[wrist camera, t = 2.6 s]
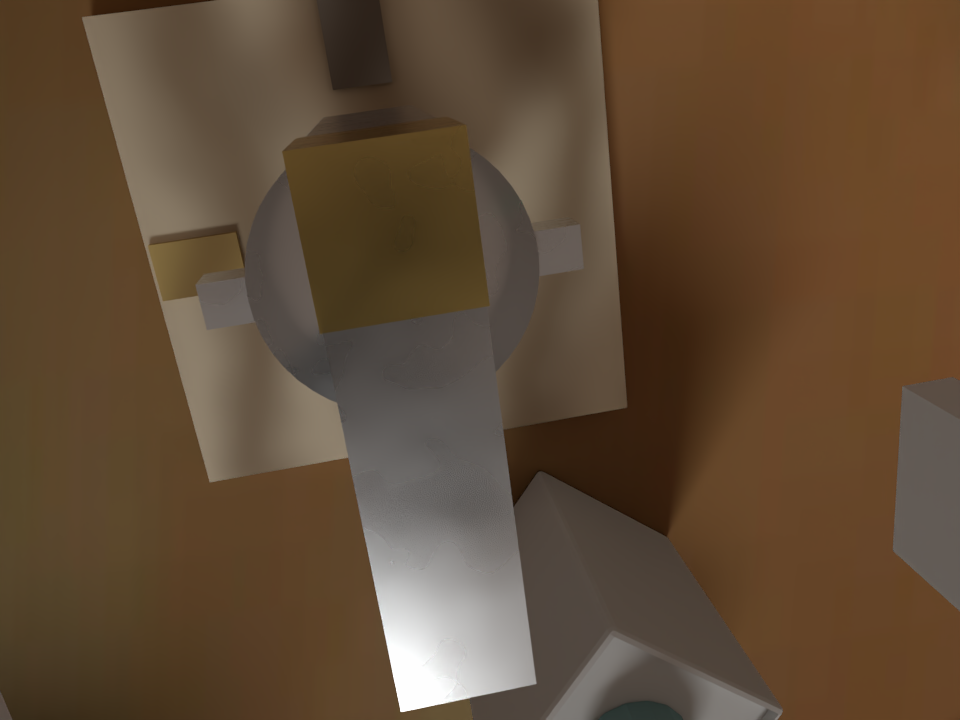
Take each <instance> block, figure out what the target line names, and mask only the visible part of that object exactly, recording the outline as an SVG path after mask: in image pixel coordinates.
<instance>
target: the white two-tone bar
mask: <svg viewBox="0 0 960 720" xmlns="http://www.w3.org/2000/svg"><path fill="white" fill-rule="evenodd" d="M282 154H283V159H284V164H285V168H286V169H285V170H284V172H283V173H282V174H281V175H280V177H279V178H278V179H277V180H276V182H275V183H274V184H273V186H272V187H271V188H270V189H269V191H268V193H267V194H266V196H265V198H264V199H263V201H262V203H261V205H260V206H259V208H258V211H257V213H256V216H255V218H254V221H253V223H252V226H251V230H250V234H249V237H248V241H247V247H246V256H245V268H239V269H233V270H227V271H220V272H214V273H207V274H204V275H203V276H202V277H201V278H200V280H199V281H198V282H197V283H196V285H195V286H196V290H197V293H198V297H199V301H200V305H201V309H202V313H203V317H204V321H205V325H206V328H207V330H211V329H217V328H223V327H230V326H236V325H242V324H248V323H254V322H255V323H256V325H257V328H258V330H259V332H260V334H261V336H262V338H263V340H264V341H265V343H266V344H267V346H268V347H269V349H270V351H271V352H272V354H273V355H274V356H275V357H276V358H277V360H278V361H279V362H280V363H281V364H282V366H283V367H284V368H285V369H286V370H287V371H289V372H290V373H291V374H292V375H293V376H294V377H295V378H296V379H297V380H298V381H300V382H301V383H303V384H304V385H305V386H307V387H308V388H310V389H311V390H312V391H314V392H316V393H318V394H320V395H322V396H323V397H325V398H327V399H329V400H331V401H334V402H337V404H338V409H339V414H340V419H341V424H342V429H343V433H344V438H345V443H346V448H347V453H348V458H349V463H350V467H351V472H352V477H353V482H354V487H355V492H356V496H357V501H358V506H359V511H360V516H361V521H362V526H363V530H364V535H365V540H366V545H367V550H368V555H369V559H370V564H371V569H372V574H373V579H374V584H375V589H376V593H377V598H378V603H379V608H380V613H381V618H382V622H383V627H384V632H385V637H386V642H387V647H388V652H389V656H390V661H391V666H392V671H393V676H394V681H395V686H396V690H397V695H398V700H399V705H400V710H401V712H404V711H409V710H414V709H419V708H423V707H428V706H433V705H438V704H443V703H447V702H452V701H457V700H462V699H467V698H471V697H476V696H481V695H486V694H491V693H495V692H500V691H505V690H510V689H515V688H520V687H524V686H529V685H534V684H536V676H535V668H534V661H533V653H532V646H531V638H530V630H529V623H528V615H527V607H526V600H525V592H524V585H523V577H522V569H521V562H520V554H519V547H518V539H517V531H516V524H515V516H514V508H513V501H512V493H511V486H510V478H509V470H508V463H507V455H506V448H505V440H504V432H503V425H502V417H501V409H500V402H499V394H498V387H497V379H496V371H497V370H498V369H499V368H500V367H501V366H502V365H503V364H504V362H505V361H506V360H507V359H508V358H509V357H510V355H511V354H512V352H513V351H514V349H515V348H516V347H517V345H518V344H519V342H520V340H521V338H522V336H523V334H524V332H525V331H526V329H527V327H528V324H529V321H530V319H531V316H532V313H533V310H534V306H535V302H536V297H537V293H538V284H539V276H544V275H550V274H556V273H562V272H568V271H574V270H581V269H584V264H583V253H582V241H581V230H580V224H579V223H577V222H576V221H574V220H573V219H571V218H570V217H566V218H559V219H553V220H546V221H540V222H534V223H531V221H530V218H529V216H528V214H527V212H526V209H525V207H524V205H523V203H522V201H521V200H520V198H519V196H518V195H517V193H516V192H515V190H514V189H513V187H512V186H511V184H510V183H509V182H508V181H507V180H506V178H505V177H504V176H503V175H502V174H501V173H500V171H499V170H498V169H496V168H495V167H494V166H493V165H492V164H491V163H490V162H489V161H488V160H486V159H485V158H484V157H483V156H481V155H480V154H478V153H477V152H475V151H474V150H472V149H471V148H469V142H468V134H467V126H466V124H463V123H461V122H459V121H456V120H454V119H452V118H449V117H440V118H436V117H434V116H432V115H430V114H428V113H426V112H424V111H422V110H420V109H418V108H416V107H414V106H412V105H407V106H400V107H393V108H386V109H379V110H372V111H365V112H358V113H351V114H343V115H336V116H329V117H323V118H322V120H321V121H320V122H319V123H318V124H317V125H316V126H315V127H314V128H313V129H312V130H311V132H310V133H309V134H308V135H307V136H306V137H300V138H296V139H295V140H294V141H292V142H291V143H290V144H289V145H288V146H287V147H286V148H285V149H284V150H283V151H282Z"/></svg>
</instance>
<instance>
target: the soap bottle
mask: <svg viewBox="0 0 960 720" xmlns="http://www.w3.org/2000/svg"><path fill="white" fill-rule="evenodd" d="M513 508H514V516H515V524H516V531H517V539H518V547H519V554H520V562H521V569H522V577H523V585H524V592H525V600H526V607H527V615H528V623H529V630H530V638H531V646H532V653H533V661H534V668H535V676H536V684H534V685H529V686H524V687H520V688H515V689H510V690H505V691H500V692H495V693H491V694H486V695H481V696H476V697H471V698H470V704H471V709H472V715H473V720H777V719H778V718H779V717H780V716H781V714H782V711H783V710H782V707H781V705H780V704H779V702H778V701H777V699H776V698H775V697H774V695H773V694H772V692H771V691H770V689H769V688H768V686H767V685H766V683H765V682H764V680H763V679H762V677H761V676H760V674H759V673H758V671H757V670H756V668H755V667H754V665H753V664H752V662H751V661H750V659H749V658H748V656H747V655H746V653H745V652H744V650H743V649H742V647H741V646H740V644H739V643H738V641H737V640H736V639H735V637H734V636H733V634H732V633H731V631H730V630H729V628H728V627H727V625H726V624H725V622H724V621H723V619H722V618H721V616H720V615H719V613H718V612H717V610H716V609H715V607H714V606H713V604H712V603H711V601H710V600H709V598H708V597H707V595H706V594H705V592H704V591H703V589H702V588H701V586H700V585H699V584H698V582H697V581H696V579H695V578H694V576H693V575H692V573H691V572H690V570H689V569H688V567H687V566H686V564H685V563H684V561H683V560H682V558H681V557H680V555H679V554H678V552H677V551H676V549H675V548H674V546H673V545H672V543H671V542H670V540H669V539H668V538H667V537H666V536H664V535H662V534H660V533H658V532H656V531H655V530H653V529H651V528H649V527H647V526H645V525H643V524H641V523H639V522H638V521H636V520H634V519H632V518H630V517H628V516H626V515H624V514H622V513H620V512H619V511H617V510H615V509H613V508H611V507H609V506H607V505H605V504H603V503H602V502H600V501H598V500H596V499H594V498H592V497H590V496H588V495H586V494H584V493H583V492H581V491H579V490H577V489H575V488H573V487H571V486H569V485H567V484H566V483H564V482H562V481H560V480H558V479H556V478H554V477H552V476H550V475H548V474H547V473H545V472H542V471H539V472H538V473H537V474H536V475H535V477H534V478H533V480H532V481H531V483H530V484H529V485H528V487H527V488H526V490H525V491H524V493H523V494H522V496H521V497H520V499H519V500H518V501H517V503H516V504H515V506H514V507H513Z"/></svg>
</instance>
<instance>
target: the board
mask: <svg viewBox="0 0 960 720" xmlns="http://www.w3.org/2000/svg"><path fill="white" fill-rule="evenodd" d="M82 20H83V23H84V27H85V30H86V34H87V38H88V41H89V45H90V49H91V52H92V56H93V60H94V63H95V67H96V70H97V74H98V78H99V81H100V85H101V89H102V92H103V96H104V100H105V103H106V107H107V110H108V114H109V118H110V121H111V125H112V129H113V132H114V136H115V139H116V143H117V147H118V150H119V154H120V158H121V161H122V165H123V169H124V172H125V176H126V179H127V183H128V187H129V190H130V194H131V198H132V201H133V205H134V209H135V212H136V216H137V219H138V223H139V227H140V230H141V234H142V238H143V241H144V245H145V249H146V252H147V256H148V259H149V263H150V267H151V270H152V274H153V278H154V281H155V285H156V288H157V292H158V296H159V299H160V303H161V307H162V310H163V314H164V318H165V321H166V325H167V328H168V332H169V336H170V339H171V343H172V347H173V350H174V354H175V358H176V361H177V365H178V368H179V372H180V376H181V379H182V383H183V387H184V390H185V394H186V397H187V401H188V405H189V408H190V412H191V416H192V419H193V423H194V427H195V430H196V434H197V437H198V441H199V445H200V448H201V452H202V456H203V459H204V463H205V467H206V470H207V474H208V477H209V481H210V482H214V481H220V480H225V479H231V478H236V477H242V476H248V475H253V474H259V473H264V472H270V471H275V470H281V469H287V468H292V467H298V466H303V465H309V464H315V463H320V462H326V461H331V460H337V459H343V458H348V453H347V448H346V443H345V438H344V433H343V429H342V424H341V419H340V414H339V409H338V404H337V402H334V401H331V400H329V399H327V398H325V397H323V396H322V395H320V394H318V393H316V392H314V391H312V390H311V389H310V388H308V387H307V386H305V385H304V384H303V383H301V382H300V381H298V380H297V379H296V378H295V377H294V376H293V375H292V374H291V373H290V372H289V371H287V370H286V369H285V368H284V367H283V366H282V364H281V363H280V362H279V361H278V360H277V358H276V357H275V356H274V355H273V354H272V352H271V351H270V349H269V347H268V346H267V344H266V343H265V341H264V340H263V338H262V336H261V334H260V332H259V330H258V328H257V325H256V323H255V322H254V323H248V324H242V325H236V326H230V327H223V328H217V329H211V330H207V328H206V325H205V321H204V317H203V313H202V309H201V305H200V301H199V297H198V293H197V290H196V286H195V285H196V283H197V282H198V281H199V280H200V278H201V277H202V276H203V275H204V274H207V273H214V272H220V271H227V270H233V269H239V268H245V256H246V247H247V241H248V237H249V234H250V230H251V226H252V223H253V221H254V218H255V216H256V213H257V211H258V208H259V206H260V205H261V203H262V201H263V199H264V198H265V196H266V194H267V193H268V191H269V189H270V188H271V187H272V186H273V184H274V183H275V182H276V180H277V179H278V178H279V177H280V175H281V174H282V173H283V172H284V170H285V169H286V168H285V164H284V159H283V154H282V151H283V150H284V149H285V148H286V147H287V146H288V145H289V144H290V143H291V142H292V141H294V140H295V139H296V138H300V137H306V136H307V135H308V134H309V133H310V132H311V130H312V129H313V128H314V127H315V126H316V125H317V124H318V123H319V122H320V121H321V120H322V118H323V117H329V116H336V115H343V114H351V113H358V112H365V111H372V110H379V109H386V108H393V107H400V106H407V105H412V106H414V107H416V108H418V109H420V110H422V111H424V112H426V113H428V114H430V115H432V116H434V117H436V118H440V117H449V118H452V119H454V120H456V121H459V122H461V123H463V124H466V126H467V134H468V142H469V148H471V149H472V150H474V151H475V152H477V153H478V154H480V155H481V156H483V157H484V158H485V159H486V160H488V161H489V162H490V163H491V164H492V165H493V166H494V167H495V168H496V169H498V170H499V171H500V173H501V174H502V175H503V176H504V177H505V178H506V180H507V181H508V182H509V183H510V184H511V186H512V187H513V189H514V190H515V192H516V193H517V195H518V196H519V198H520V200H521V201H522V203H523V205H524V207H525V209H526V212H527V214H528V216H529V218H530V221H531V223H534V222H540V221H546V220H553V219H559V218H566V217H570V218H571V219H573V220H574V221H576V222H577V223H579V224H580V230H581V241H582V253H583V264H584V269H581V270H574V271H568V272H562V273H556V274H550V275H544V276H539V284H538V293H537V297H536V302H535V306H534V310H533V313H532V316H531V319H530V321H529V324H528V327H527V329H526V331H525V332H524V334H523V336H522V338H521V340H520V342H519V344H518V345H517V347H516V348H515V349H514V351H513V352H512V354H511V355H510V357H509V358H508V359H507V360H506V361H505V362H504V364H503V365H502V366H501V367H500V368H499V369H498V370H497V371H496V379H497V387H498V394H499V402H500V409H501V417H502V425H503V430H505V429H510V428H516V427H522V426H527V425H533V424H538V423H544V422H550V421H555V420H561V419H566V418H572V417H577V416H583V415H589V414H594V413H600V412H605V411H611V410H617V409H622V408H627V395H626V381H625V368H624V354H623V340H622V326H621V312H620V299H619V285H618V271H617V257H616V243H615V230H614V216H613V202H612V188H611V174H610V161H609V147H608V133H607V119H606V105H605V92H604V78H603V64H602V50H601V36H600V23H599V9H598V0H214V1H206V2H198V3H191V4H183V5H175V6H167V7H159V8H151V9H143V10H136V11H128V12H120V13H112V14H104V15H96V16H88V17H82Z"/></svg>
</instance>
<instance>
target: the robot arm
mask: <svg viewBox="0 0 960 720" xmlns="http://www.w3.org/2000/svg"><path fill="white" fill-rule="evenodd" d="M893 551H894V552H895V553H896V554H897V555H898V556H899V557H900V558H902V559H903V560H904V561H905V562H906V563H907V564H908V565H909V566H910V567H912V568H913V569H914V570H915V571H916V572H917V573H918V574H919V575H920V576H921V577H923V578H924V579H925V580H926V581H927V582H928V583H929V584H930V585H931V586H933V587H934V588H935V589H936V590H937V591H938V592H939V593H940V594H941V595H943V596H944V597H945V598H946V599H947V600H948V601H949V602H950V603H951V604H952V605H954V606H955V607H956V608H957V609H958V610H959V611H960V381H959V380H957V379H955V378H954V377H951V378H946V379H940V380H935V381H929V382H923V383H918V384H912V385H907V386H903V387H902V404H901V421H900V438H899V455H898V472H897V489H896V506H895V524H894V541H893ZM0 720H12V718H11V715H10V713H9V711H8V708H7V706H6V703H5V701H4V699H3V696H2V694H1V692H0Z"/></svg>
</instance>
